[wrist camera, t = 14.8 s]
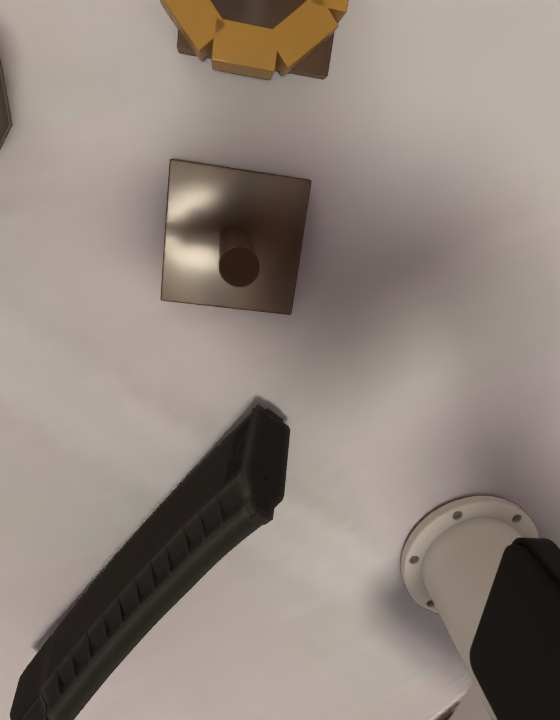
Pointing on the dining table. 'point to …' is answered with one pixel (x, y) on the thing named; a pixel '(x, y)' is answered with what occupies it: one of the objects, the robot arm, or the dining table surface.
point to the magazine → (159, 567)
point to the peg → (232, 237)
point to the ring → (255, 35)
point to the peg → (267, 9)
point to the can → (4, 110)
